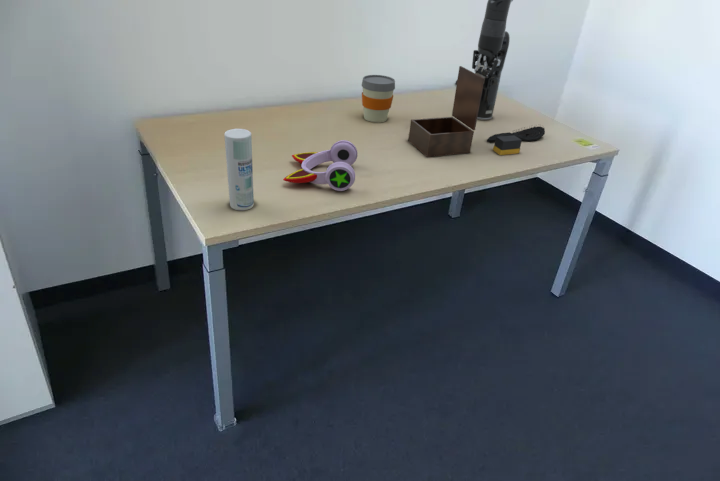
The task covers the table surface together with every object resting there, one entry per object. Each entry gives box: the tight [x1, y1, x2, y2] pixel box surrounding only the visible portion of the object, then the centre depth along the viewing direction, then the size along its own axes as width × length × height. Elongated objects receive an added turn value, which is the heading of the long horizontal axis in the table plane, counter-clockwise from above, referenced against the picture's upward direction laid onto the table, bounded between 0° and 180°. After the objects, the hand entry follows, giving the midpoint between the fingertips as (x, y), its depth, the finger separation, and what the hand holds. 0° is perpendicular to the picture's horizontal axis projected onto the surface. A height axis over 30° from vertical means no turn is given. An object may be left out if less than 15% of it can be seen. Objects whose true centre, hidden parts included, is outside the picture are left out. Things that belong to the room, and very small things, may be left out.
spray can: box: [223, 128, 255, 211], centre depth 135 cm, size 6×6×20 cm
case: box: [407, 116, 475, 158], centre depth 182 cm, size 17×15×8 cm
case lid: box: [451, 65, 486, 131], centre depth 179 cm, size 17×15×5 cm
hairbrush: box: [486, 124, 546, 143], centre depth 196 cm, size 8×4×25 cm
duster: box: [492, 135, 522, 156], centre depth 184 cm, size 8×4×5 cm, turn 111°
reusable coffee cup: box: [361, 74, 396, 123], centre depth 201 cm, size 13×13×15 cm
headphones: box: [283, 139, 358, 192], centre depth 156 cm, size 20×10×20 cm
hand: (481, 86), depth 178 cm, fingers closed on case lid, 5 cm apart
